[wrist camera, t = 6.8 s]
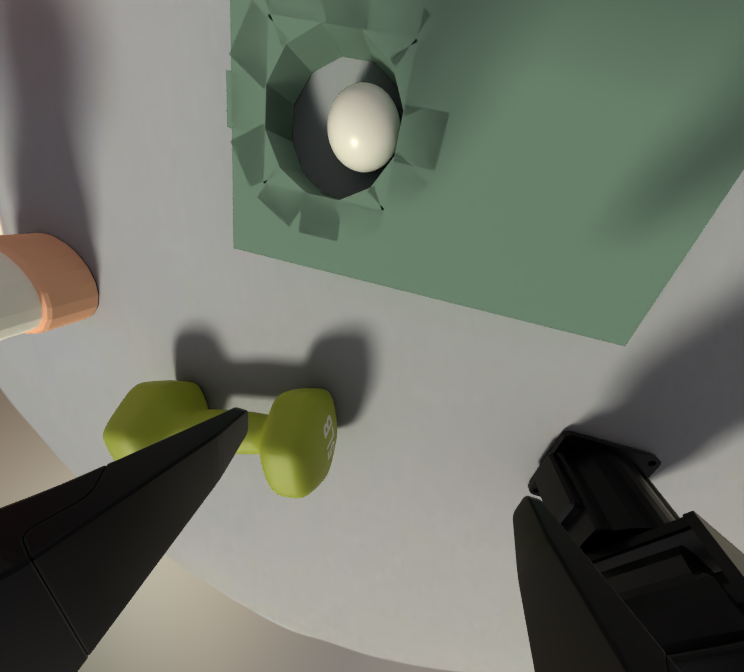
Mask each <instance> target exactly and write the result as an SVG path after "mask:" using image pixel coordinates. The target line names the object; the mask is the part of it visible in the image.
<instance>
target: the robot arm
mask: <svg viewBox="0 0 744 672" xmlns="http://www.w3.org/2000/svg"><path fill="white" fill-rule="evenodd" d="M247 432H248V411H247V410H244V409H241V408H232V409H230V410H228V411H226V412H223V413H221V414H219V415H217V416H215V417H212V418H210V419H208V420H206V421H203V422H201V423H199V424H197V425H194V426H192V427H190V428H188V429H185V430H183V431H181V432H179V433H176V434H174V435H172V436H170V437H167V438H165V439H163V440H161V441H158V442H156V443H154V444H152V445H149V446H147V447H145V448H143V449H141V450H138V451H136V452H134V453H132V454H129V455H127V456H125V457H123V458H120V459H118V460H116V461H114V462H111V463H109V464H108V465H107V466H102V467H100V468H98V469H95V470H93V471H91V472H89V473H86V474H84V475H82V476H79V477H77V478H75V479H72V480H70V481H68V482H65V483H63V484H61V485H58V486H56V487H53V488H51V489H48V490H46V491H43V492H41V493H39V494H36V495H33V496H31V497H28V498H25V499H23V500H20V501H18V502H15V503H12V504H10V505H7V506H5V507H2V508H0V672H78V670H79V669H80V667H81V666H82V665H83V663H84V662H85V661H86V659H87V658H88V655H90V654H91V652H92V651H93V650H94V648H95V647H96V645H97V644H98V643H99V641H100V640H101V639H102V637H103V636H104V635H105V633H106V632H107V631H108V629H109V628H110V627H111V625H112V624H113V623H114V621H115V620H116V619H117V617H118V616H119V615H120V613H121V612H122V611H123V609H124V608H125V607H126V605H127V604H128V602H129V601H130V600H131V598H132V597H133V596H134V594H135V593H136V591H137V590H138V589H139V588H140V586H141V585H142V584H143V582H144V581H145V579H146V578H147V577H148V576H149V574H150V573H151V571H152V570H153V569H154V567H155V566H156V565H157V563H158V562H159V560H160V559H161V558H162V556H163V555H164V554H165V553H166V551H167V550H168V549H169V547H170V546H171V545H172V543H173V542H174V540H175V539H176V538H177V536H178V535H179V534H180V532H181V531H182V530H183V528H184V527H185V526H186V524H187V523H188V522H189V520H190V519H191V518H192V516H193V515H194V514H195V512H196V511H197V509H198V508H199V507H200V505H201V504H202V503H203V501H204V500H205V499H206V497H207V496H208V495H209V493H210V492H211V491H212V489H213V488H214V487H215V485H216V484H217V482H218V481H219V480H220V478H221V476H222V475H223V473H224V472H225V470H226V468H227V467H228V465H229V463H230V462H231V460H232V458H233V457H234V455H235V453H236V452H237V450H238V448H239V447H240V445H241V443H242V442H243V440H244V438H245V437H246V435H247ZM568 438H571V439H568ZM660 464H661V461H660V460H659V459H658V458H657V457H656V456H655V455H654V454H651V453H647V452H644V451H640V450H637V449H633V448H629V447H626V446H622V445H619V444H615V443H612V442H608V441H605V440H601V439H597V438H594V437H590V436H587V435H583V434H580V433H576V432H572V431H565V432H563V433H562V434H561V436H560V437H559V439H558V440H557V442H556V443H555V445H554V446H553V448H552V449H551V451H550V452H549V454H547V456H546V457H545V459H544V460H543V462H542V463H541V465H540V466H539V468H538V469H537V471H536V472H535V474H534V477H533V478H532V480H531V481H530V483H529V484H528V488H529V491H530V493H531V494H533V495H537V496H540V497H541V498H542V501H543V502H542V501H541V500H540V499H537V498H534V497H530V496H525V497H524V498H523V499H522V501H521V502H520V504H519V505H518V507H517V508H516V510H515V511H514V514H513V527H514V539H515V551H516V563H517V573H518V580H519V587H520V592H521V598H522V603H523V609H524V614H525V620H526V625H527V631H528V636H529V642H530V647H531V653H532V659H533V664H534V670H535V672H744V554H743V553H742V552H741V551H740V550H739V549H737V548H736V547H735V546H734V545H733V544H732V543H730V542H729V541H728V540H727V539H726V538H725V537H723V536H722V535H721V534H720V533H719V532H718V531H717V530H715V529H714V528H713V527H712V526H711V525H710V524H708V523H707V522H706V521H705V520H704V519H703V518H701V517H700V516H699V515H698V514H697V513H696V512H694V511H691V512H688V513H686V514H683V517H682V518H680V517H679V516H678V515H677V514H676V512H675V511H674V510H673V509H672V507H671V506H670V505H669V504H668V502H667V501H666V500H665V499H664V497H663V496H662V495H661V493H660V492H659V491H658V490H657V488H656V487H655V486H654V485H653V483H652V482H651V481H650V480H649V477H650V476H651V474H652V473H653V472H654V471H655V470H656V469H657V468H658V467H659V466H660Z"/></svg>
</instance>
